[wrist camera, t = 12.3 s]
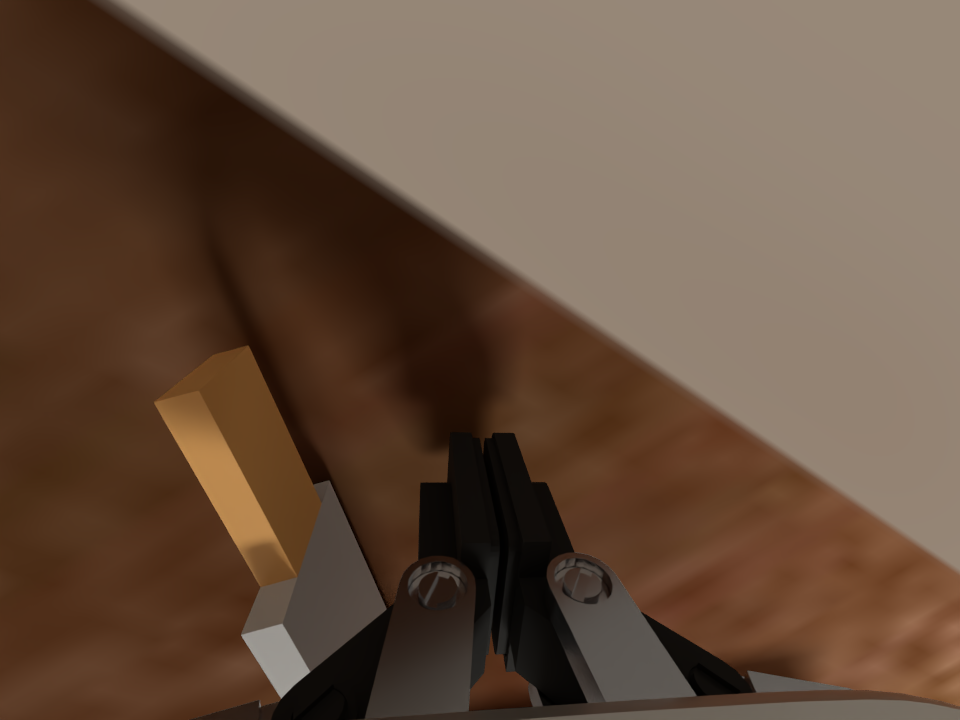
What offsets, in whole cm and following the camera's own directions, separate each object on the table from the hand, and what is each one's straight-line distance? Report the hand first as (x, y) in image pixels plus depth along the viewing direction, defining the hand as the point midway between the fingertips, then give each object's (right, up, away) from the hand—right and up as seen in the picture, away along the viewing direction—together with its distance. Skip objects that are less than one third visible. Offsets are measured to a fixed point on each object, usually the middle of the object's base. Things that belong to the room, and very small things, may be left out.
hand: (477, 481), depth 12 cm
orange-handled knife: (-3, -6, +3) cm, 7 cm away
